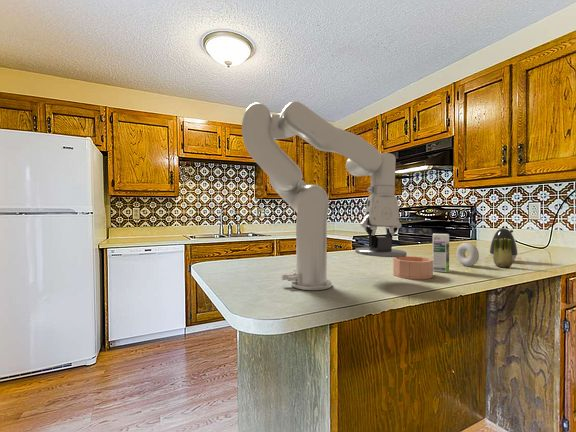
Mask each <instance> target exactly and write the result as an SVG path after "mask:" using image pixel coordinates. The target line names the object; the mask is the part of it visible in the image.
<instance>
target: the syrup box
mask: <svg viewBox="0 0 576 432" xmlns="http://www.w3.org/2000/svg"><path fill="white" fill-rule="evenodd" d="M432 260H433V272H438V273H439V272H440V273H448V274H449V273H450V234H449V233H432Z"/></svg>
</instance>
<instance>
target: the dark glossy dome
mask: <svg viewBox="0 0 576 432" xmlns="http://www.w3.org/2000/svg"><path fill="white" fill-rule="evenodd" d="M513 232H514V229H511V230H509V229H508V228H499V229H498V230H497V231H495V233H494V235H493V237H492V240H491V243H490V246H489V247H490V248H489V253H490V255H491V258H492V259H493V260H494V257H493V254H494V239H497V240H498V248H499V239H503V244H504V238H506V239H507V240H508V239H510V240H512V242H511V252H512V259H513V261H515V260H516V258H517V255H518V247H517V243H516V240H515V237H514V235H513Z"/></svg>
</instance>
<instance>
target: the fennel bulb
mask: <svg viewBox="0 0 576 432" xmlns="http://www.w3.org/2000/svg"><path fill="white" fill-rule="evenodd" d="M511 242H512V240H510V239H508V240H507V239H506V238H504V244H503V239H499V248H498V240H497V239H494V254H493V257H494V259H493V263H494V265H495V267H499V268H503V269H505V268H506V269H508V268H510V267H511V266H512V265H513V261H514V260H513V259H512V252H511Z"/></svg>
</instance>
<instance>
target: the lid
mask: <svg viewBox="0 0 576 432" xmlns="http://www.w3.org/2000/svg"><path fill="white" fill-rule="evenodd" d="M376 236H377V237H376V248H372V247H365V246H364V247H357V248H355V250H354V253H356V254H359V255H364V256H368V257H379V258H393V257H405V256H408V255H407V253H408V252H407V251H406V250H401V249H397V248H392V247H393V237H385V235H376Z"/></svg>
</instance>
